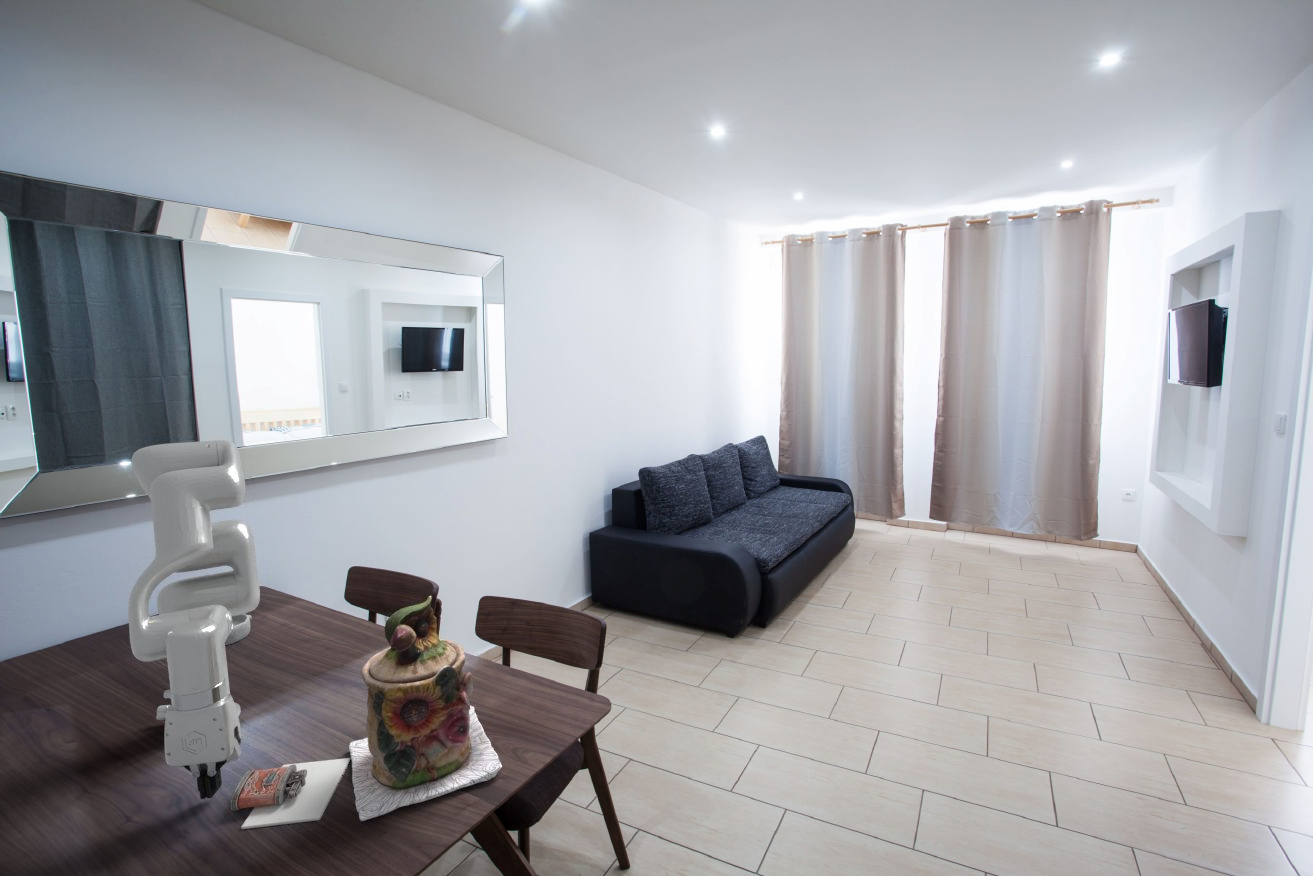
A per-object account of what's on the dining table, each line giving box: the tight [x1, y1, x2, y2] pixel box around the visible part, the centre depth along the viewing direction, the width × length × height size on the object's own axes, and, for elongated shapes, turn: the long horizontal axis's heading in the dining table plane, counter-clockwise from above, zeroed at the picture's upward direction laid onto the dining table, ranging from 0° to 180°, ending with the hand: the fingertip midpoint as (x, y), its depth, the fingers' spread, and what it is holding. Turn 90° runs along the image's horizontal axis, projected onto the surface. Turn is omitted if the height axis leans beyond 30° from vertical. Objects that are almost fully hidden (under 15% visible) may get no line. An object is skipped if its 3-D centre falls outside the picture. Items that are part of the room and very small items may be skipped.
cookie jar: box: [348, 595, 503, 822], centre depth 117 cm, size 25×25×32 cm
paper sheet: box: [240, 757, 352, 830], centre depth 111 cm, size 12×16×1 cm
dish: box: [225, 613, 253, 646], centre depth 174 cm, size 14×14×5 cm
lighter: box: [230, 765, 307, 812], centre depth 110 cm, size 8×3×10 cm
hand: (210, 793), depth 109 cm, fingers closed
